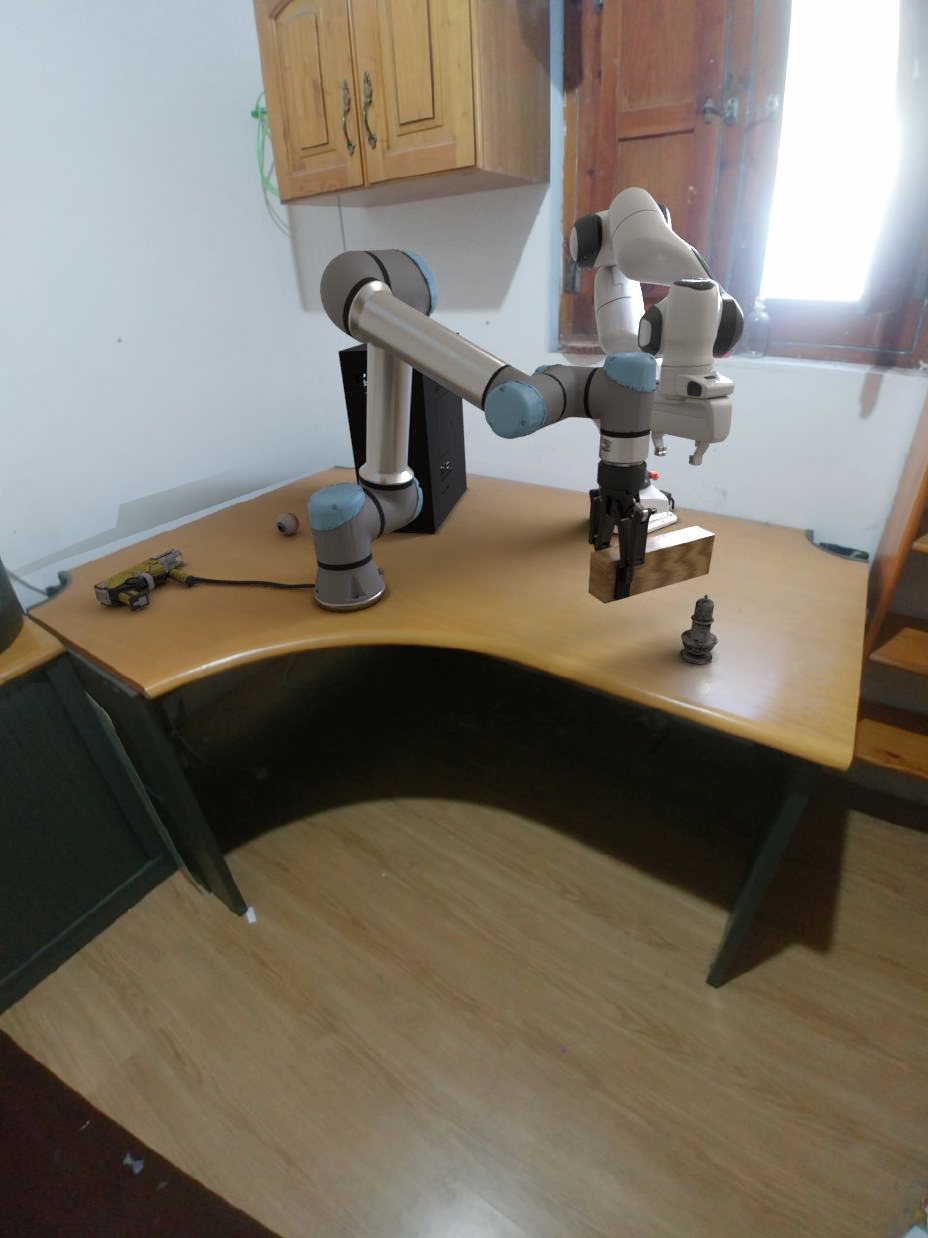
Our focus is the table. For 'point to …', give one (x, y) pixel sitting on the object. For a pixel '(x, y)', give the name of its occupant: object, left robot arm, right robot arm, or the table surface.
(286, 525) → the eyeball
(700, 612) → the dark grey piece
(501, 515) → the table surface
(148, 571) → the toy gun
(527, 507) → the table surface
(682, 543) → the bar
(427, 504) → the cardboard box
